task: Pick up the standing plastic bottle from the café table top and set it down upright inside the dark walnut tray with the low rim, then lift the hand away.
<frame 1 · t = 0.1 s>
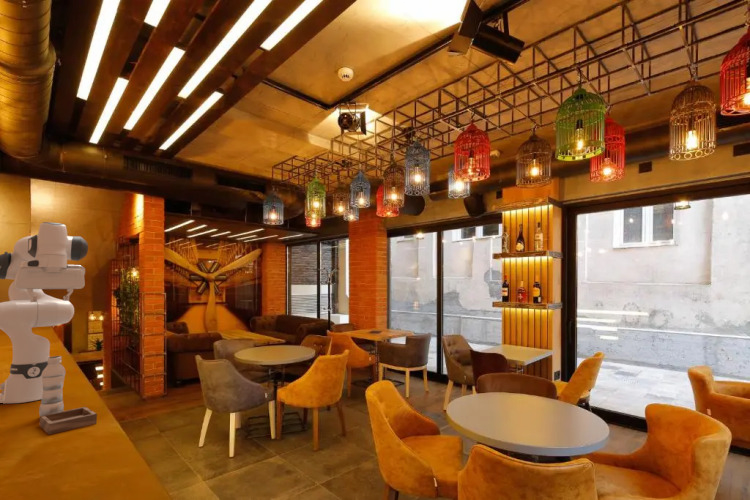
hand: (50, 301, 143), 39 cm above the table, tool pointing down, fingers open, 8 cm apart
plastic bottle: (50, 417, 132), on the table
walnut tray: (68, 424, 125), on the table
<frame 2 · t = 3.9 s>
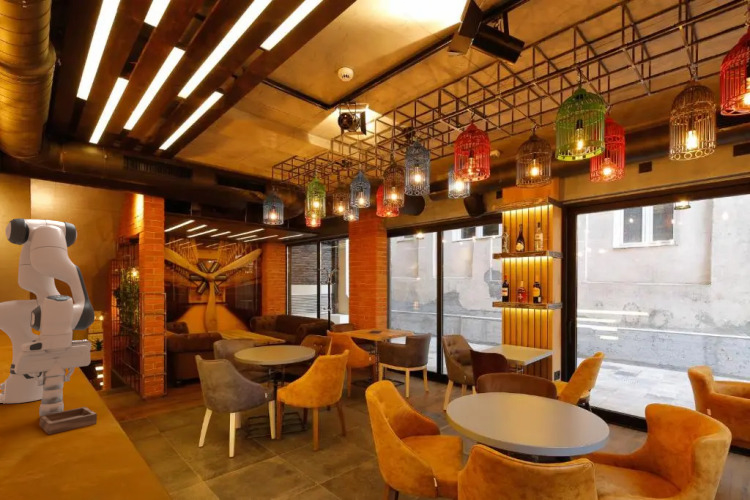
hand: (53, 383, 133), 11 cm above the table, tool pointing down, fingers closed on plastic bottle, 6 cm apart
plastic bottle: (50, 417, 132), on the table, touching gripper
when the fingers open (14 cm above the table, at t = 9.9 s): plastic bottle drops 2 cm, resting on walnut tray.
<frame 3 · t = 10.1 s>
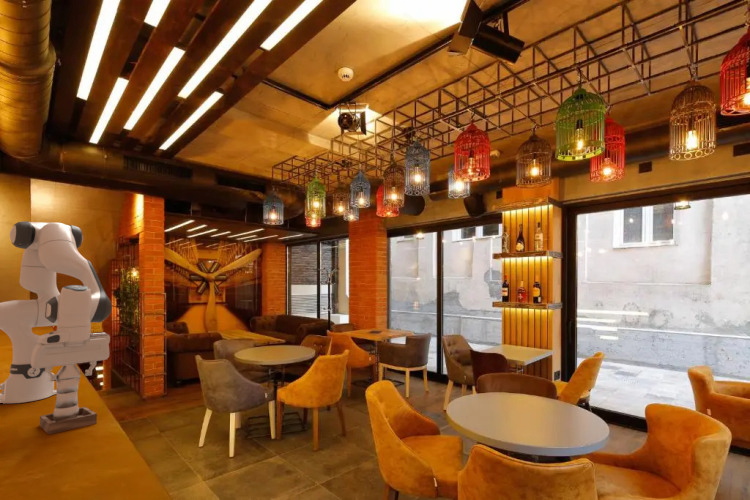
hand: (71, 378, 126), 15 cm above the table, tool pointing down, fingers open, 8 cm apart
plastic bottle: (65, 422, 125), point 1 cm above the table, touching walnut tray
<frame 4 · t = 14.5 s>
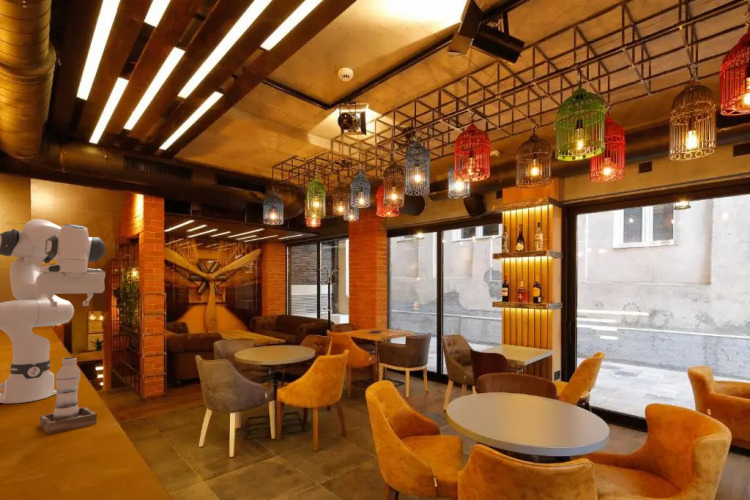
hand: (70, 306, 141), 37 cm above the table, tool pointing down, fingers open, 8 cm apart
nothing on the table moved.
at the end: plastic bottle 0.7 cm off-centre on the walnut tray, point 0.8 cm above the walnut tray's base; plastic bottle tilted 0°; the gripper is holding nothing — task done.
